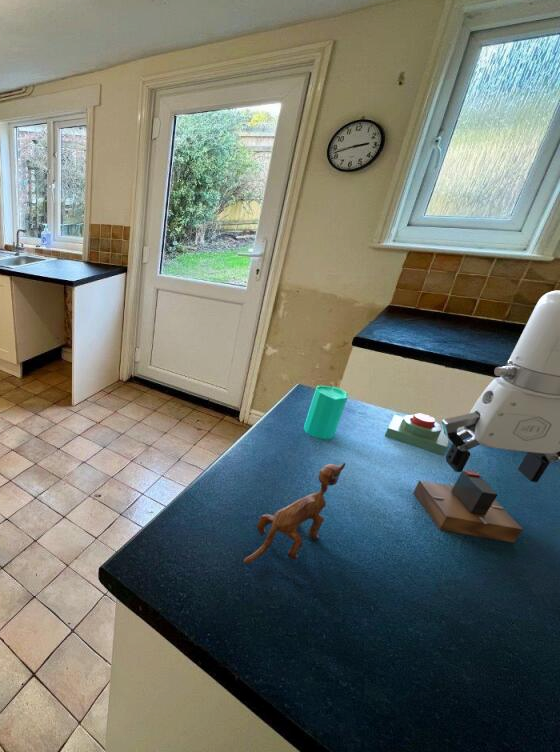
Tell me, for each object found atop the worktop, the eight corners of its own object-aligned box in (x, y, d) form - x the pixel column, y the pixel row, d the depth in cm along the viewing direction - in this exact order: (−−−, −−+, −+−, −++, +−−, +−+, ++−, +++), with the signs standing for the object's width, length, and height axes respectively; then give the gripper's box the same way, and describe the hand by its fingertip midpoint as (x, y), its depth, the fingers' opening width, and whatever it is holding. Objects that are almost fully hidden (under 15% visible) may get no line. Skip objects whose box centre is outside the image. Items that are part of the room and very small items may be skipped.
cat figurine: (261, 585, 60) (285, 515, 54) (224, 552, 65) (242, 484, 59) (334, 538, 67) (362, 471, 61) (296, 511, 72) (318, 447, 67)
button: (433, 424, 90) (436, 417, 90) (431, 431, 88) (434, 424, 87) (412, 418, 93) (415, 411, 92) (410, 424, 90) (413, 417, 90)
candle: (299, 431, 95) (313, 384, 89) (308, 421, 98) (322, 376, 93) (329, 442, 91) (346, 394, 85) (337, 431, 94) (354, 385, 89)
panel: (477, 502, 74) (485, 488, 73) (515, 544, 66) (525, 530, 65) (411, 491, 77) (418, 478, 75) (440, 531, 68) (448, 517, 67)
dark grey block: (485, 515, 67) (499, 493, 65) (470, 513, 68) (483, 491, 66) (464, 492, 72) (476, 471, 70) (451, 490, 73) (462, 469, 71)
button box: (446, 439, 91) (454, 424, 90) (443, 455, 86) (451, 439, 85) (390, 422, 98) (396, 407, 96) (384, 436, 93) (390, 421, 91)
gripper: (483, 383, 59) (437, 477, 66) (645, 396, 54) (577, 496, 62) (452, 361, 65) (414, 450, 73) (596, 372, 61) (539, 465, 68)
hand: (489, 471), depth 67 cm, fingers open, 9 cm apart
